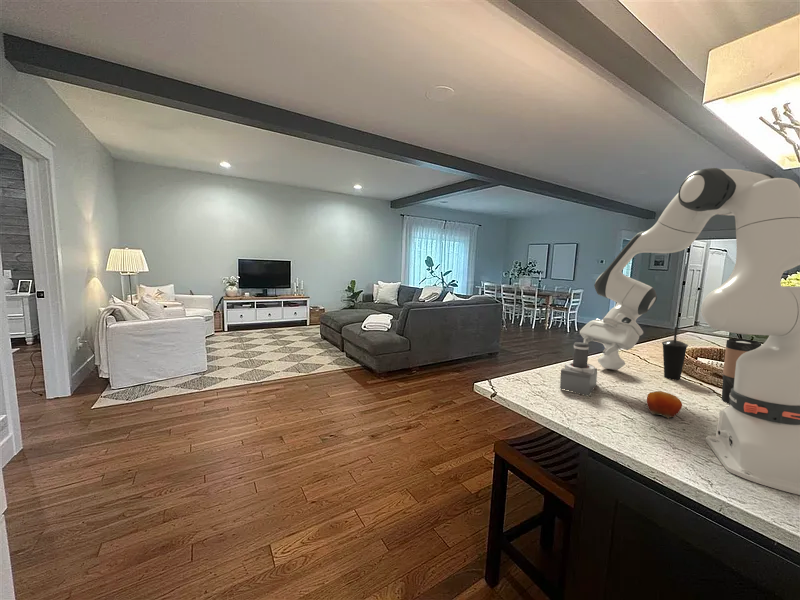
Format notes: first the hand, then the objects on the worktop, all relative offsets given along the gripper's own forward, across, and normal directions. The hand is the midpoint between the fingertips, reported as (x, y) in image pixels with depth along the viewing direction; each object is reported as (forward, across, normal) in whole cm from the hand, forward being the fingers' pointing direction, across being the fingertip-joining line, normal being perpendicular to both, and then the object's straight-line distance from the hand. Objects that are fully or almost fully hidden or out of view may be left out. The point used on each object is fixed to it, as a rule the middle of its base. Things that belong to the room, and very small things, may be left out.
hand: (593, 350), depth 118 cm
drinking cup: (-16, +2, +35) cm, 38 cm away
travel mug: (-13, +25, +32) cm, 42 cm away
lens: (+9, 0, +1) cm, 9 cm away
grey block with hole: (+13, 0, +5) cm, 14 cm away
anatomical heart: (-7, -13, +25) cm, 29 cm away
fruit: (+9, +25, +10) cm, 28 cm away
